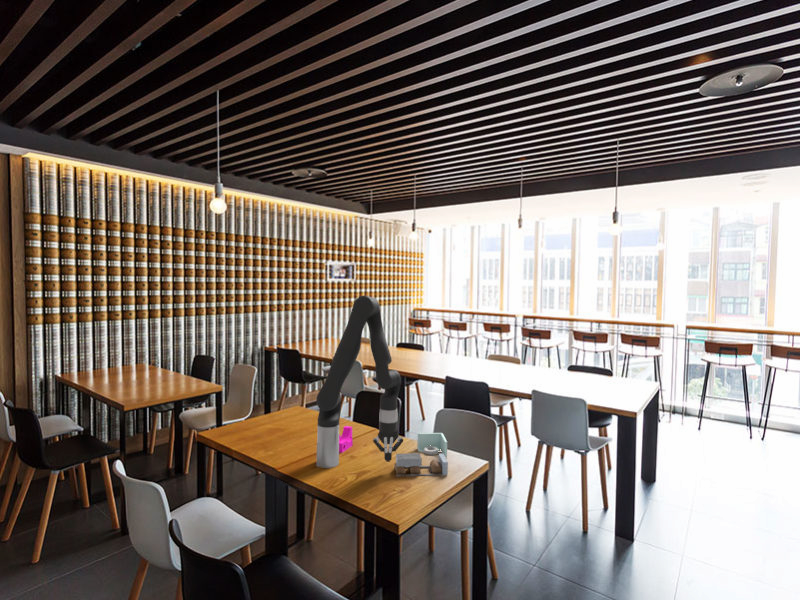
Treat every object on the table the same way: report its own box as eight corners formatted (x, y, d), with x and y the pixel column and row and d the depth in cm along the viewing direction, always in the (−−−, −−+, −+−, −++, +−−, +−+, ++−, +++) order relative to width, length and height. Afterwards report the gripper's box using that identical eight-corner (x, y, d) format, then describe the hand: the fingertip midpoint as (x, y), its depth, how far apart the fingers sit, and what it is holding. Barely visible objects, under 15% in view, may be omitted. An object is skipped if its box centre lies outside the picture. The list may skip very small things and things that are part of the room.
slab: (397, 466, 176) (397, 459, 176) (395, 460, 182) (395, 453, 182) (421, 466, 177) (421, 458, 177) (419, 460, 183) (419, 453, 183)
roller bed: (396, 477, 175) (396, 468, 174) (394, 468, 183) (394, 459, 183) (442, 476, 177) (442, 466, 176) (438, 467, 185) (438, 458, 185)
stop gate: (442, 476, 176) (442, 462, 176) (438, 467, 185) (438, 453, 185) (447, 476, 177) (447, 462, 176) (442, 467, 185) (443, 453, 185)
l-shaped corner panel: (417, 448, 207) (417, 433, 207) (442, 448, 208) (442, 432, 208) (420, 458, 195) (420, 442, 195) (446, 458, 196) (447, 441, 196)
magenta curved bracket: (342, 453, 199) (342, 437, 199) (330, 451, 202) (330, 435, 201) (356, 442, 213) (356, 427, 213) (345, 440, 216) (345, 425, 215)
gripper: (403, 416, 182) (402, 457, 183) (371, 416, 181) (371, 457, 181) (405, 421, 175) (404, 464, 175) (372, 422, 173) (372, 465, 174)
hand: (387, 461), depth 178 cm, fingers closed
